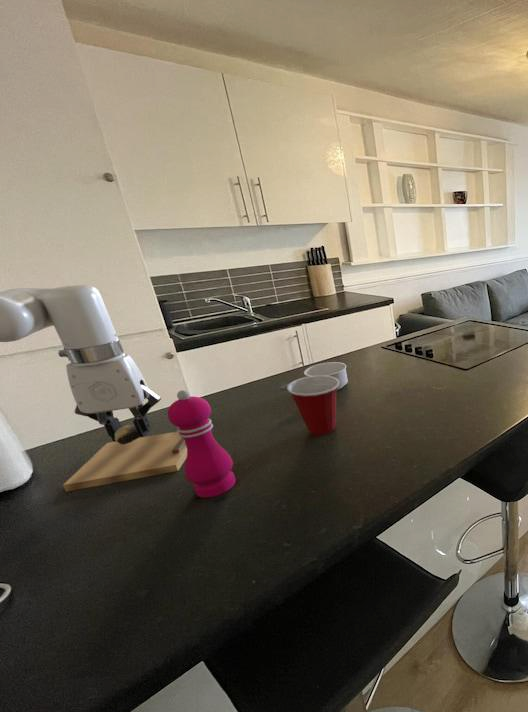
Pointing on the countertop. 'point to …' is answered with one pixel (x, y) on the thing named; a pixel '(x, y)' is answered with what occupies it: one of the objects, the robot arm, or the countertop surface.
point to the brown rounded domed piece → (126, 434)
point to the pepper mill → (201, 446)
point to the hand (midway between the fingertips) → (132, 435)
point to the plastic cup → (316, 402)
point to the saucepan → (327, 372)
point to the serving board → (131, 461)
